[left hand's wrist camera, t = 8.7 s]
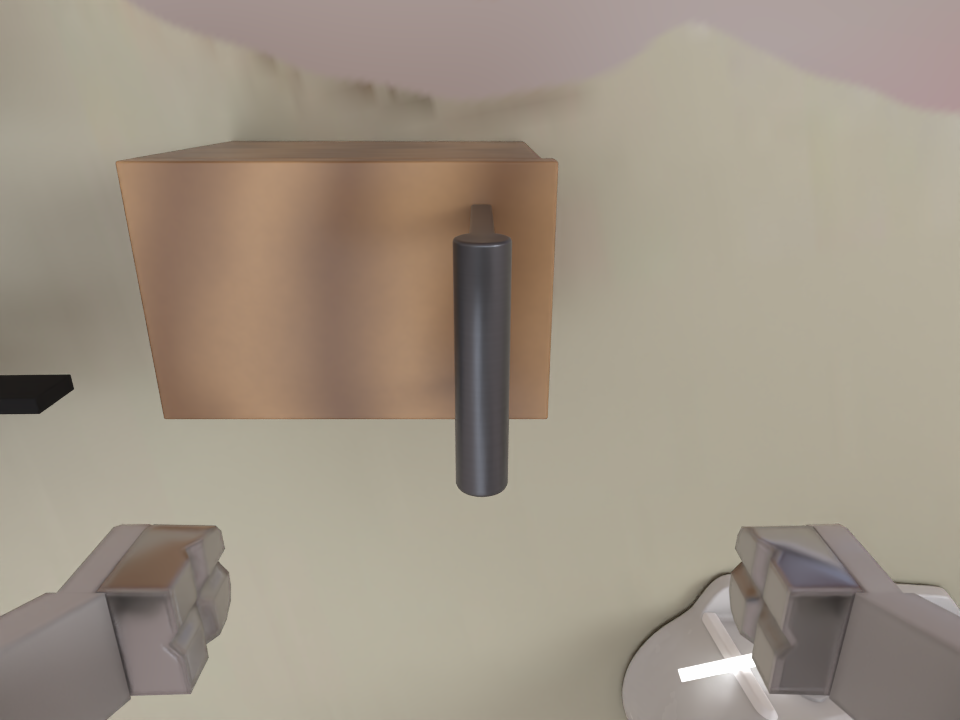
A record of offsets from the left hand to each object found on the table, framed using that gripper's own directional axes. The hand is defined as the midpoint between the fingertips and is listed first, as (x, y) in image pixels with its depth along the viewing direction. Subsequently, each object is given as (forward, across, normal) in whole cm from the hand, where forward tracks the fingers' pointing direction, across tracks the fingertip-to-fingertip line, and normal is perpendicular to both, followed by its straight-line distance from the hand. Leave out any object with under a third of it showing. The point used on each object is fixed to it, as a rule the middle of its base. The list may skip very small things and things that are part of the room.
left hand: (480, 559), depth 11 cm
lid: (+16, -5, 0) cm, 17 cm away
